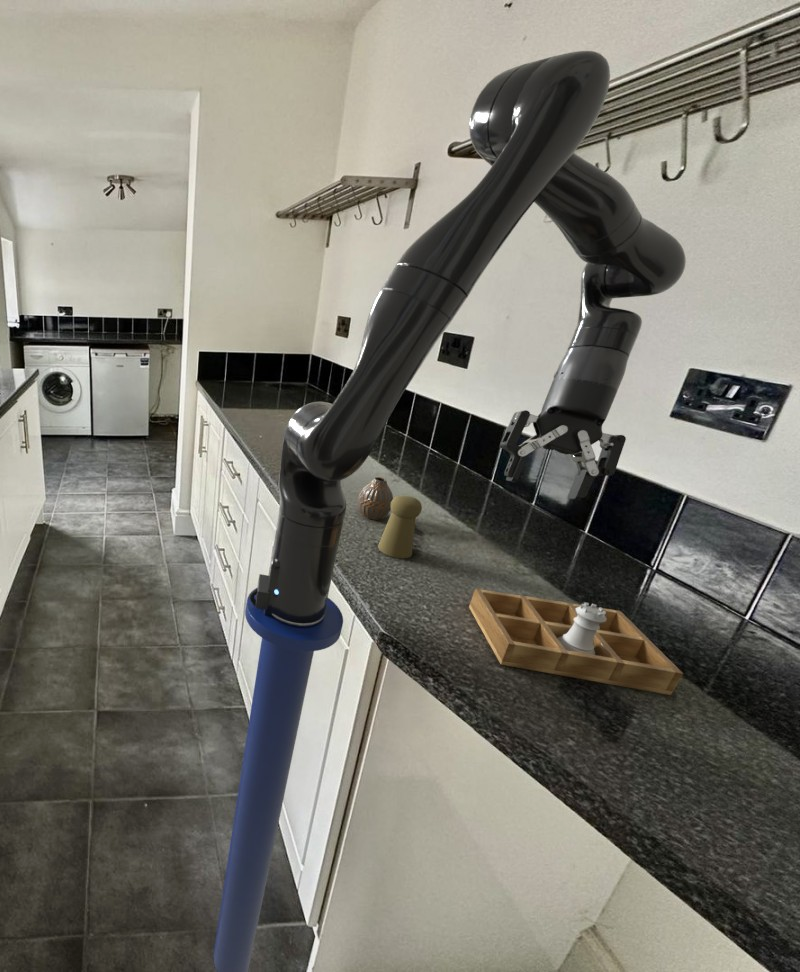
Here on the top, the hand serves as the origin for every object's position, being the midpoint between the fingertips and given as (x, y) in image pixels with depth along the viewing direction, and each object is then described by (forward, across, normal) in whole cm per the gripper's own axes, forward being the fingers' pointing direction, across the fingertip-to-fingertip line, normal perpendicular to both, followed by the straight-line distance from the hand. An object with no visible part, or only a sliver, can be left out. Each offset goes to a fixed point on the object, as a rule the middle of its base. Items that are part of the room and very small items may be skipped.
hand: (542, 490), depth 75 cm
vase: (+13, -15, +32) cm, 38 cm away
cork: (+17, -12, +18) cm, 28 cm away
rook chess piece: (+21, +8, -6) cm, 24 cm away
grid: (+21, +8, -3) cm, 23 cm away
